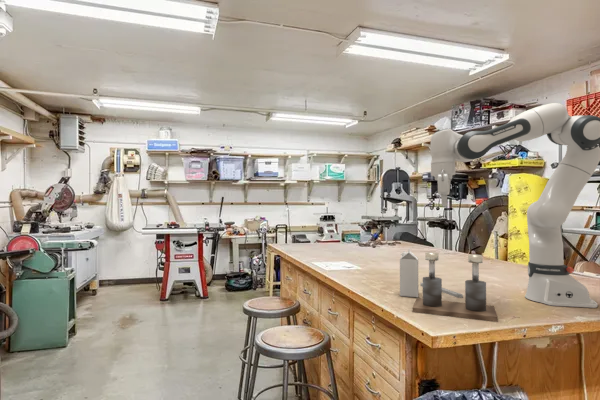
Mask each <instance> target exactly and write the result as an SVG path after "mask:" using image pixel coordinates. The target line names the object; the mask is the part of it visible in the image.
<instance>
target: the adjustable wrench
mask: <svg viewBox="0 0 600 400" xmlns="http://www.w3.org/2000/svg"><path fill="white" fill-rule="evenodd" d="M419 285H420V286H421V287H422V288H423V282H420V284H419ZM443 293H444V294H446V295H449V296H452V297H454V298H455V297H456V298H459V299H462V298H463V297H464V295H463V293H460V292H457V291H454V290H451V289H448V288H445V287H442V294H443Z"/></svg>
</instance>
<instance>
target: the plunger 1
mask: <svg viewBox="0 0 600 400" xmlns="http://www.w3.org/2000/svg"><path fill="white" fill-rule="evenodd" d="M424 256H425V260H426V261H428V277H429V278H435V277H436V262H437V261H439V258H440V257H439V252H435V251H434V252H432V251H431V252H430V251H426V252H425V255H424Z"/></svg>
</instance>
